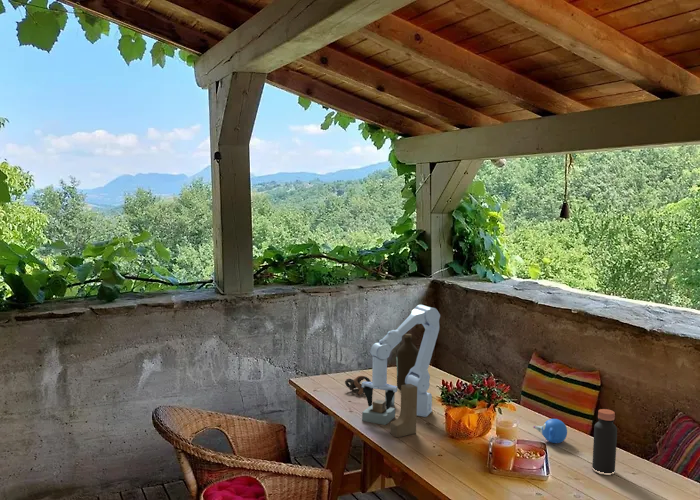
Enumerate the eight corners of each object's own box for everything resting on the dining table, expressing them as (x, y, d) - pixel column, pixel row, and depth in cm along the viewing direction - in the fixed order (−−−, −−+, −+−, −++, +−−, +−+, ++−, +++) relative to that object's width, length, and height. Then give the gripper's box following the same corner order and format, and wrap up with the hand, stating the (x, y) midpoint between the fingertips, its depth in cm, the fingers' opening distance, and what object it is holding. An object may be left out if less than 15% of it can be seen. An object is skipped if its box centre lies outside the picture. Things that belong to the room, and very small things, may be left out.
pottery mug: (368, 389, 279) (373, 376, 275) (367, 403, 271) (372, 391, 267) (343, 382, 278) (348, 369, 274) (341, 397, 270) (346, 384, 266)
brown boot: (396, 438, 221) (397, 389, 219) (389, 433, 224) (390, 386, 223) (416, 433, 225) (417, 386, 224) (409, 429, 229) (410, 383, 227)
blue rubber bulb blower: (536, 432, 228) (536, 410, 227) (569, 438, 222) (570, 416, 222) (529, 443, 217) (530, 420, 217) (563, 450, 212) (564, 427, 211)
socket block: (394, 416, 242) (395, 408, 242) (385, 425, 233) (385, 416, 233) (372, 412, 246) (372, 404, 246) (362, 420, 237) (362, 412, 237)
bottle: (595, 465, 200) (598, 406, 199) (617, 471, 196) (620, 411, 194) (589, 471, 195) (592, 411, 193) (611, 478, 191) (614, 416, 189)
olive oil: (420, 385, 284) (422, 333, 282) (415, 391, 274) (416, 337, 272) (399, 382, 288) (400, 331, 286) (392, 389, 278) (394, 335, 276)
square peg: (385, 418, 241) (385, 401, 240) (381, 421, 237) (381, 403, 237) (376, 416, 242) (376, 399, 242) (372, 419, 239) (372, 402, 238)
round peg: (395, 404, 257) (396, 388, 256) (392, 407, 253) (392, 391, 253) (387, 403, 259) (387, 387, 258) (383, 405, 255) (383, 389, 254)
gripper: (358, 373, 238) (358, 407, 239) (393, 378, 232) (392, 413, 233) (365, 369, 244) (365, 401, 245) (399, 374, 238) (398, 407, 239)
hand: (379, 407), depth 239 cm, fingers open, 7 cm apart
